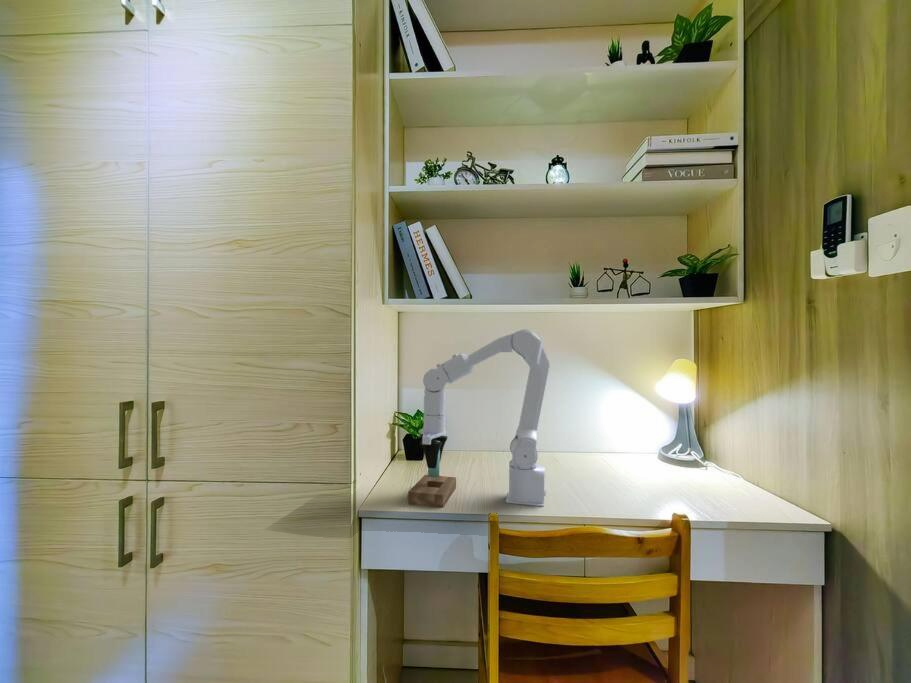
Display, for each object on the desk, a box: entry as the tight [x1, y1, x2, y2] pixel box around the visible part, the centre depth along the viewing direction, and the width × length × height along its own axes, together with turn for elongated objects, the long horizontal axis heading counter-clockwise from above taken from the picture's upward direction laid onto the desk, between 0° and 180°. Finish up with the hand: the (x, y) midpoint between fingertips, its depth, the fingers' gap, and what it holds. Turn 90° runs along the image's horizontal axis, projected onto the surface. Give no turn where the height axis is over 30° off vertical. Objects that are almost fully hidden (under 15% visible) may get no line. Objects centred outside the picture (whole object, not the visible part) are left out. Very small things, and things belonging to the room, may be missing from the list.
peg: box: [427, 440, 441, 478], centre depth 111 cm, size 3×3×9 cm
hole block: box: [407, 474, 457, 508], centre depth 111 cm, size 9×14×3 cm, turn 167°
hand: (433, 465), depth 111 cm, fingers closed on peg, 3 cm apart
